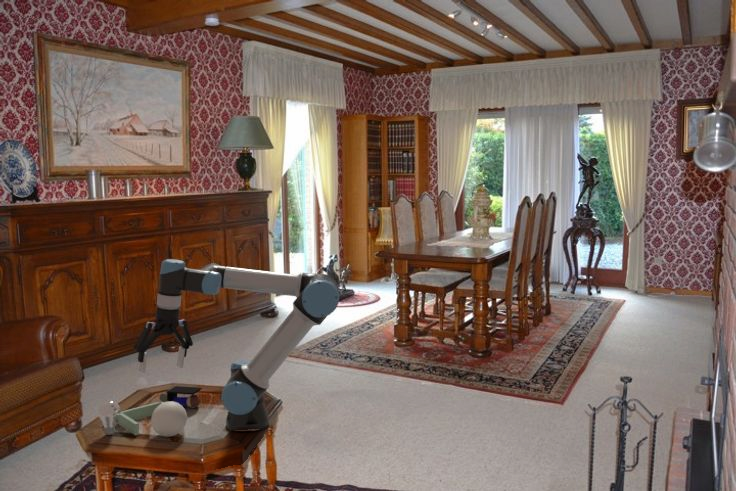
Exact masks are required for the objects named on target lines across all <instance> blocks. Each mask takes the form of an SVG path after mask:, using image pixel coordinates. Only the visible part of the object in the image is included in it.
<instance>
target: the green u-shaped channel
mask: <svg viewBox="0 0 736 491" xmlns="http://www.w3.org/2000/svg"><path fill="white" fill-rule="evenodd" d="M162 403H164V402H163V401H161V400H160V401H156V402H153V403H152V402H151V403H149V404H145V405H142V406H138V407H134V408H133V407H132V408H130V409H126V410H123V411H121V410H120V414H119V416H118V418H117V419H116V424H117V423H118V424H117V425H119V426H120V427H122V428H123V429H124V430H126V431H127V432H129V433H130V434H133V435H134V436H138V435H140V423H139V422H138V421H136V420H140V419H143V418H148V417H152V414H153V412H154V410H155V409H156V408H157V407H158V406H159V405H160V404H162Z"/></svg>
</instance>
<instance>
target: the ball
mask: <svg viewBox="0 0 736 491" xmlns="http://www.w3.org/2000/svg"><path fill="white" fill-rule="evenodd" d="M183 406H184V405H180V404H179V403H177V402H173V401H169V402H167V401H166V402H164V403H162V404H160V405H159V406H158V407H157V408H156V409H155V410H154V412H153V414H152V416H151V420H150V421H151V426H152V429H153V431H155V433H156V434H158V435H159V436H162V437H167V438H168V437H169V438H171V437H173V436H176V435H178V434H180V433H181V432H182V431H183V430H184V428H185V427H186V424H187V420H188V414H187V411H186V409H185V408H184V407H183Z"/></svg>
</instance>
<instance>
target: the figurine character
mask: <svg viewBox="0 0 736 491" xmlns="http://www.w3.org/2000/svg"><path fill="white" fill-rule="evenodd" d="M202 389H203V388H202V387H199V386H198V387H197V386H196V387H195V386H184V385H183V386H182V385H181V386H180V385H175V386H173V387H172V388H169V389H168V390H166V391H165V392H162V393H160V394H159V400H160V401H163V402H169V401H173V402H177V403H179V404H180V405H182V406H187V407H188V408H190V409H195V408H198V406H200V405H201V399H200V397H199V396H198V395H197V394H196V393H198V392H199V391H201V390H202ZM178 395H189V396H178Z"/></svg>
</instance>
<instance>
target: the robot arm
mask: <svg viewBox="0 0 736 491" xmlns="http://www.w3.org/2000/svg"><path fill="white" fill-rule="evenodd" d="M338 284H339V283H338V282H337V281H336V280H335V278H334V277H332V276H331V275H328V274H326V273H312V272H310V273H309V272H300V273H299V274H293V273H292V274H291V273H284V272H278V271H277V272H276V271H266V270H257V269H250V268H249V269H248V268H241V267H231V266H224V265H219V264H218V263H209V264H206V265H204V266H203V267H202V268H200V269H197V268H196V269H195V268H188V267H186V262H185V261H183V260H179V259H173V258H167V259H164V260H163V261H162V262H161V265H160V272H159V279H158V290H157V299H156V305H157V306H156V307H155V314H154V315H155V320H154V321H152V322H150V321H145V323H144V324H145V325H144V328H143V329H142V332H141V333H140V335H139V337H138V338H137V340H136V342H135V344H134V345H133V347H132V350H133V351H136V352H137V353H138V355H137V356H138V357H137V362H138V363H139V367H138V371H140V372H141V373H142V374H146V370H147V369H146V367H147V358H148V352H146V351H147V350H148V349H149V348H150V347H151V346H152V344H154V342H155V341H156V340H157V339H158V338H160V336H165V335H170V336H171V335H173V337H174V338H175V340H177V342H178V343H179V345H180V346H179V347H178V352H177V362H176V366H178V367H179V368H184V360H185V358H186V357H187V352H188V350H189V349H190V347H192V346H193V345H194V342H193V340H192V337H191V334H190V332H189V329H188V321H187V320H186V319H184V318H181V319H180V313H181V312H180V311H181V309H180V307H181V305H182V304H181V303H182V294H183V292H191V293H197V294H198V293H199V294H204V295H218V294H219V293H220V291H221V289H230V290H240V291H247V292H254V293H255V292H256V293H263V294H264V293H265V294H273V295H280V296H289V297H295V300H294V301H293V302H292V306H293V308H292V311H290V313H289V314H288V315H287V316H286V318H284V320H283V321H282V322H281V324H280V325H279V326H278V328H276V330H275V331H274V333H273V334H272V335H271V336H270V337H269V339H268V340H267V341H266V342H265V344H264V345H263V346H262V347H261V348H260V350H258V352H257V353H256V354H255V356H253V359H250V360H249V359H246V360H245V359H244V360H243V359H242V360H236V361H233V362H232V363H231V364H230V368H229V369H230V370H229V371H230V377H229V378H228V380H227V382H226V384H225V385H224V387H223V388H222V391H221V395H220V396H221V398H220V400H221V404H222V406H223V407H224V408H225V410H226V411H228V413H227V415H226V418H225V426H226V428H227V429H229V430H230V431H232V430H248V429H260V430H259V431H261V430H263V429H265V428H267V427H268V426H269V424H270V416H269V414H268V411H267V407H266V405H265V393H266V392H267V390H268V389H269V388H270V379H271V378H272V377H273V375H274V374H275V373H276V372H277V370H278V369H279V368H280V367H281V366H282V365H283V364H284V363H285V361H286V359H287V358H288V357H289V356H290V355H291V354H292V353H293V351H294V350H295V349H296V347H297V346H298V345H299V344H300V343H301V341H302V340H303V339H304V338H305V336H306V335H307V334H308V333H309V331H311V329H312V328H313V327H314V326H320V325H321V324H322V323H323V322H324V321H325V319H327V317H329V316H330V315H331V314H332V313H334V312H335V311H336V309H337V307H338V305H339V303H340V287H339V285H338ZM179 326H180V327H179ZM178 327H179V328H180V330H181V333H182V335H181V334H180V332H179V331H178V329H177V328H178Z"/></svg>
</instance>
